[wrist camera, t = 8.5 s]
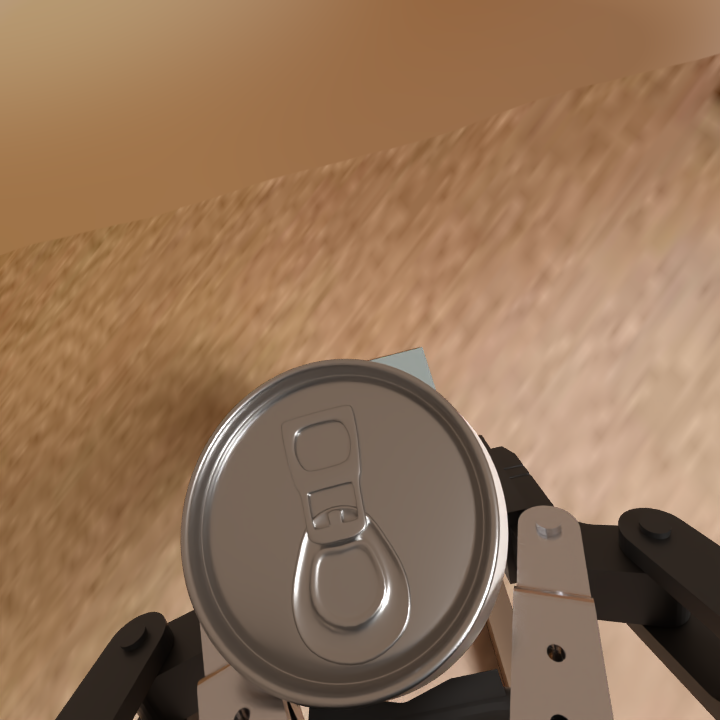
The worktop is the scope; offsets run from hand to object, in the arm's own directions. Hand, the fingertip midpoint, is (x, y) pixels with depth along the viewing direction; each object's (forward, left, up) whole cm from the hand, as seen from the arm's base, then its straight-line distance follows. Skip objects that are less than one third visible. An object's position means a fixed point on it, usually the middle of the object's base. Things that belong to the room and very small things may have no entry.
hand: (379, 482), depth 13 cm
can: (0, -1, -6) cm, 6 cm away
